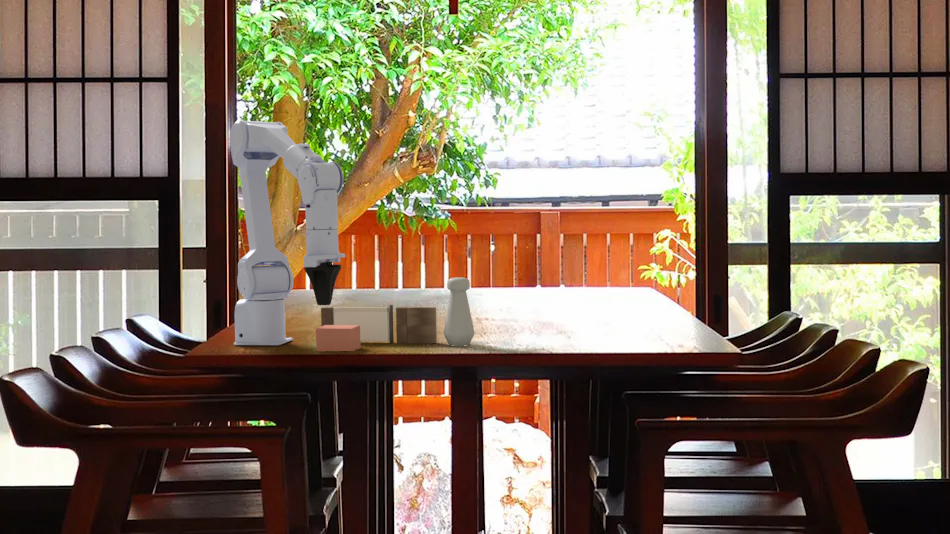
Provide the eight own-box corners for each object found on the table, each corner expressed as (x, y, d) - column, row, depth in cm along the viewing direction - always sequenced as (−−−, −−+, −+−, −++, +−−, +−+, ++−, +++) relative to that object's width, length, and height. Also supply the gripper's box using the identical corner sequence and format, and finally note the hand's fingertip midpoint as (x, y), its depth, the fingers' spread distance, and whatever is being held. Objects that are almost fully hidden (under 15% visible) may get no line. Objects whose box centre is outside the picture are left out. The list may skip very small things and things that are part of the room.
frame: (321, 342, 186) (320, 305, 186) (325, 341, 188) (324, 304, 188) (435, 343, 182) (434, 305, 182) (437, 342, 184) (436, 304, 184)
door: (334, 341, 186) (333, 307, 186) (335, 340, 187) (335, 307, 187) (387, 341, 184) (387, 307, 184) (389, 340, 186) (388, 307, 185)
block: (316, 352, 176) (315, 328, 175) (325, 348, 180) (325, 325, 180) (352, 352, 174) (351, 328, 174) (360, 348, 179) (359, 325, 179)
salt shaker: (470, 347, 177) (469, 278, 176) (441, 346, 178) (440, 278, 178) (477, 342, 183) (476, 276, 182) (448, 342, 184) (447, 276, 183)
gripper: (330, 230, 160) (332, 309, 161) (355, 228, 174) (356, 300, 175) (291, 230, 161) (293, 309, 162) (318, 228, 176) (320, 300, 176)
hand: (324, 304), depth 169 cm, fingers closed
